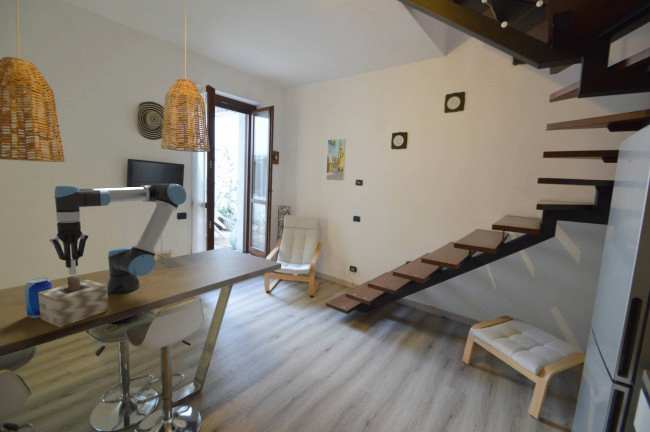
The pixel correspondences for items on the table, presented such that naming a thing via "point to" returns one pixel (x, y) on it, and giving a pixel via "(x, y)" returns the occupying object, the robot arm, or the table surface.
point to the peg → (73, 283)
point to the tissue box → (73, 303)
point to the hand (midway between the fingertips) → (72, 273)
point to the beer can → (35, 295)
